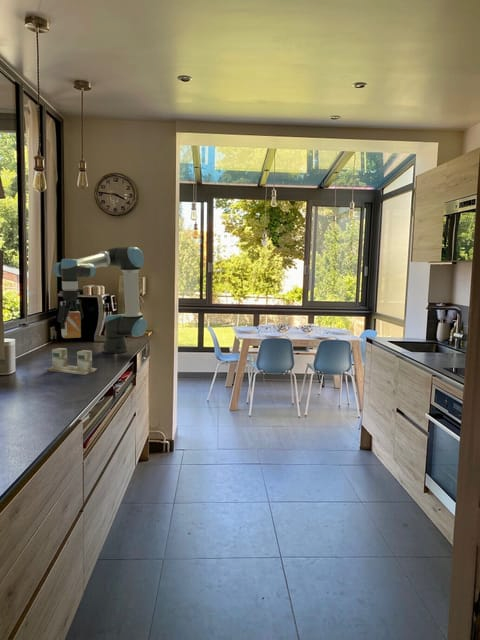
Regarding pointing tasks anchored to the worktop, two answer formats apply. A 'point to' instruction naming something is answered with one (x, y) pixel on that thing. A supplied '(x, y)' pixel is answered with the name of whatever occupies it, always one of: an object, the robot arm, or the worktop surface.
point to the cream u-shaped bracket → (82, 366)
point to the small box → (73, 325)
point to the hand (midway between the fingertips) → (71, 333)
